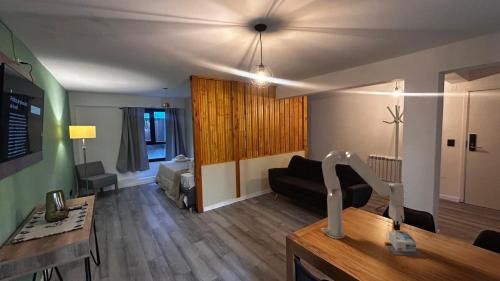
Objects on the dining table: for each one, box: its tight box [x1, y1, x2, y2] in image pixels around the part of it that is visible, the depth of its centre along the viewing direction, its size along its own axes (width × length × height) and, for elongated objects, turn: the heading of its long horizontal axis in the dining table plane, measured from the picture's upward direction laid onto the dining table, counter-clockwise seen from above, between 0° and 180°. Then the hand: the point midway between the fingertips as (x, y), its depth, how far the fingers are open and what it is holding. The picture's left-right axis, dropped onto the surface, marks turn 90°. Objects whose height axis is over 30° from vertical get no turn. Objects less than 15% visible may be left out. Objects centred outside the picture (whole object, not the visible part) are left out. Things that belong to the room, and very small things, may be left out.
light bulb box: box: [388, 230, 417, 252], centre depth 133 cm, size 11×7×11 cm
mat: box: [385, 245, 424, 257], centre depth 130 cm, size 16×10×1 cm, turn 81°
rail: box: [384, 241, 393, 246], centre depth 136 cm, size 16×2×2 cm, turn 81°
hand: (396, 229), depth 138 cm, fingers closed
